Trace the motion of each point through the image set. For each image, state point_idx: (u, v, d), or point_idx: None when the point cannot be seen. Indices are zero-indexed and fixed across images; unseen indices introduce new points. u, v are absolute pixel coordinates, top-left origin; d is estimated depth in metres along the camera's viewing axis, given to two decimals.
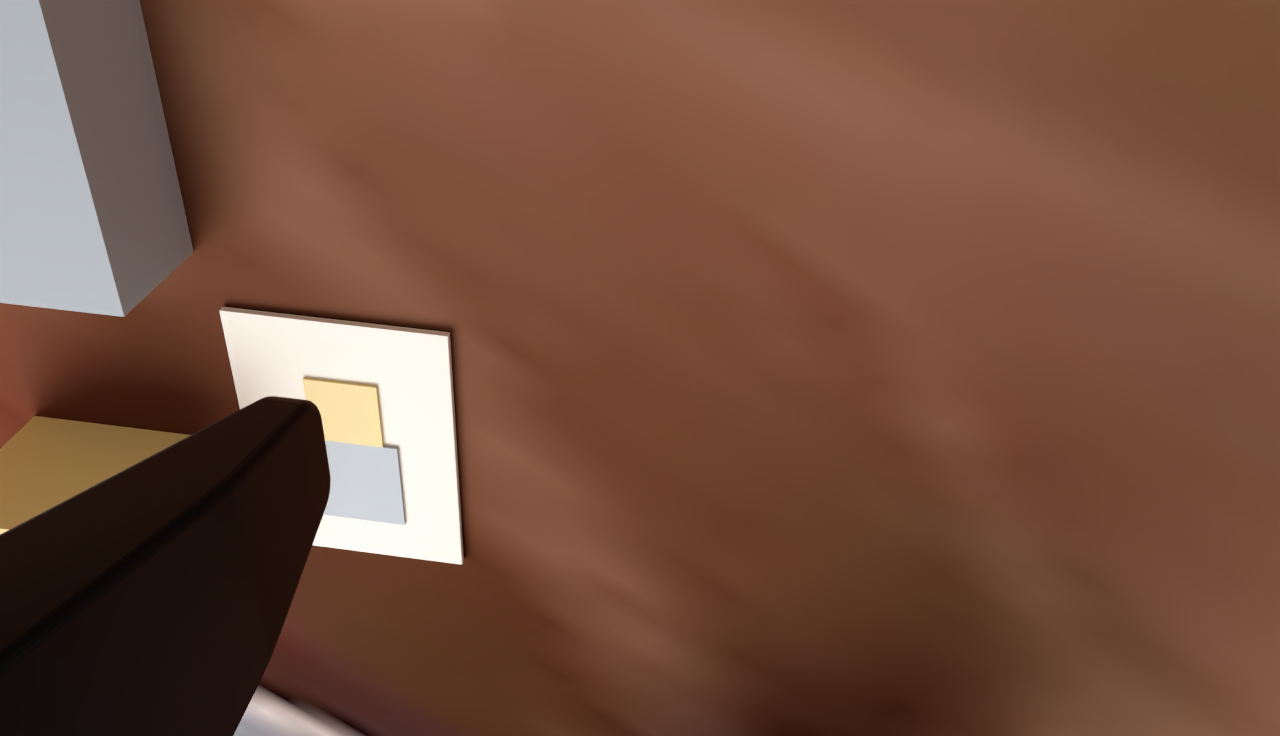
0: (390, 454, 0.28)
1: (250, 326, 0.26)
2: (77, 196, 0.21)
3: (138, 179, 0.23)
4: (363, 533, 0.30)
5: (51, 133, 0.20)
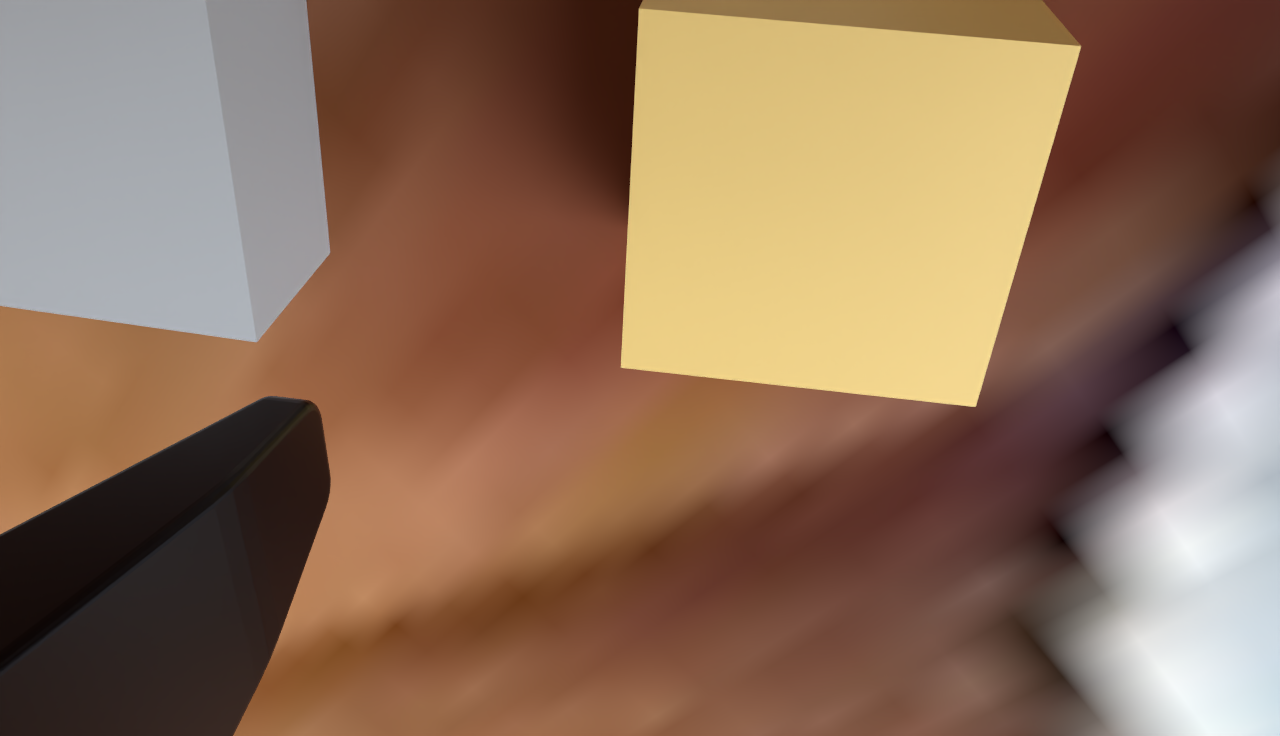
0: None
1: None
2: None
3: None
4: None
5: None
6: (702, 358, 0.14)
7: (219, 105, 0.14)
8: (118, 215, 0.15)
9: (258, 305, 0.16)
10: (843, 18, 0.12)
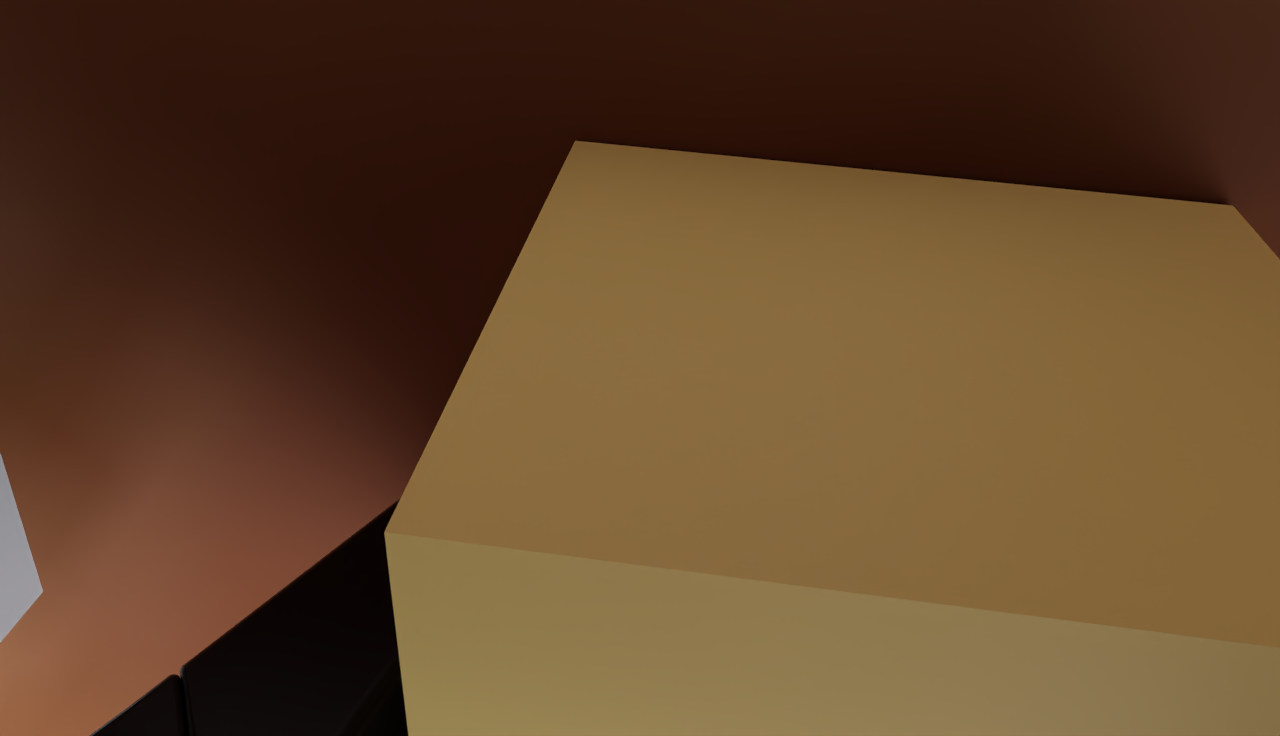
0: None
1: None
2: None
3: None
4: None
5: None
6: None
7: None
8: None
9: None
10: (947, 547, 0.04)
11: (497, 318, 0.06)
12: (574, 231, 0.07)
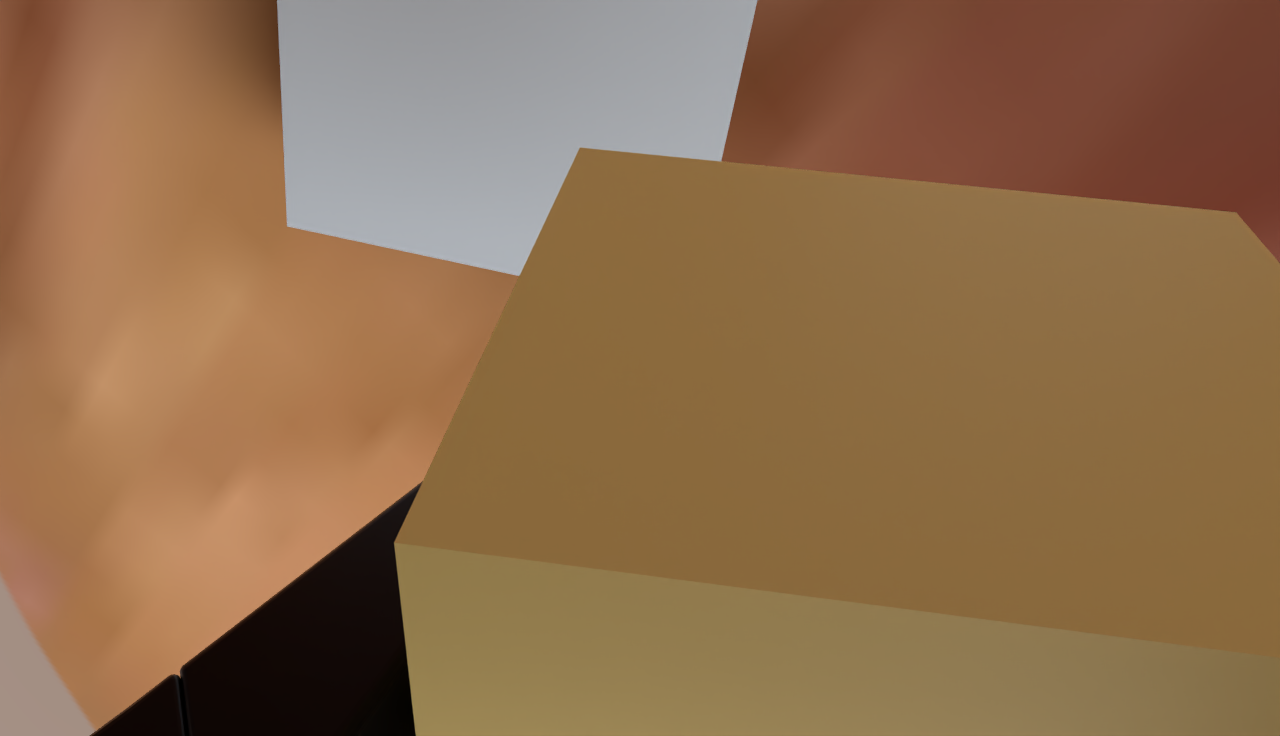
0: None
1: None
2: None
3: None
4: None
5: None
6: None
7: (737, 85, 0.15)
8: None
9: None
10: (954, 558, 0.04)
11: (504, 327, 0.06)
12: (580, 239, 0.07)
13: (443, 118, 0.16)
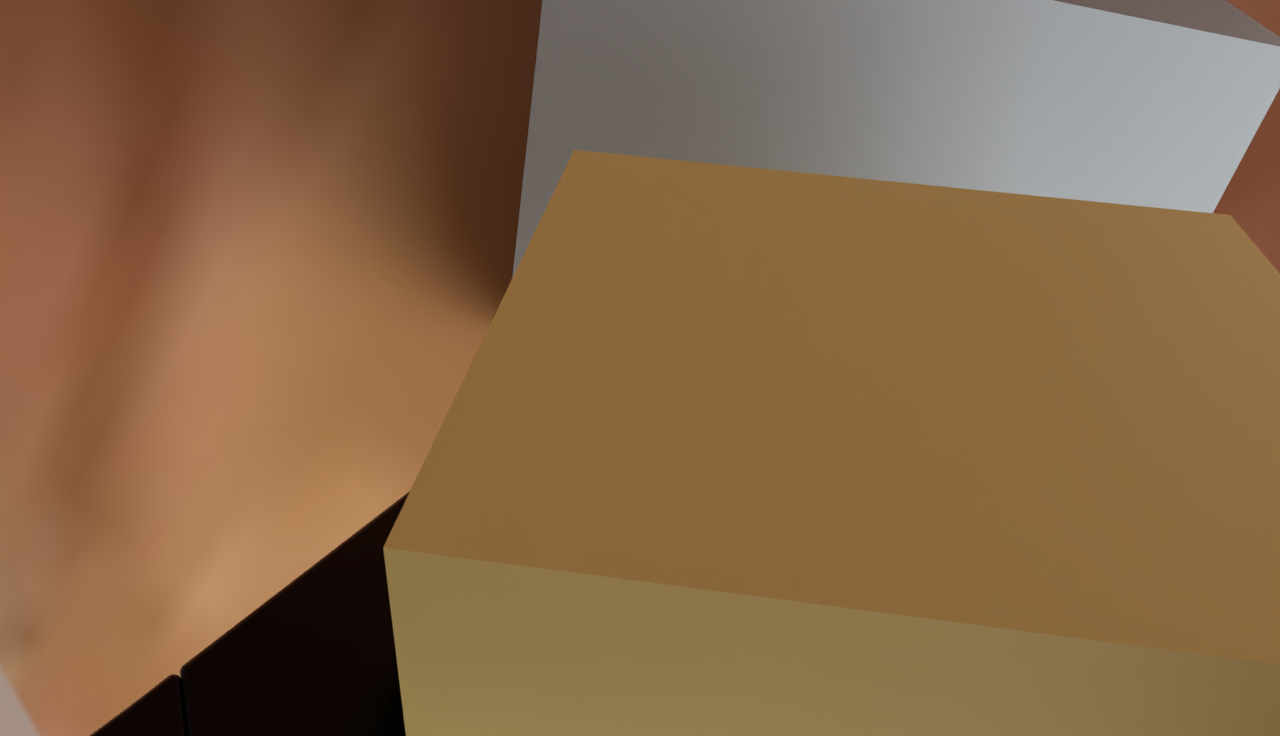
0: None
1: None
2: (975, 22, 0.09)
3: None
4: None
5: (830, 13, 0.10)
6: None
7: None
8: None
9: None
10: (944, 562, 0.04)
11: (496, 330, 0.06)
12: (573, 241, 0.07)
13: None
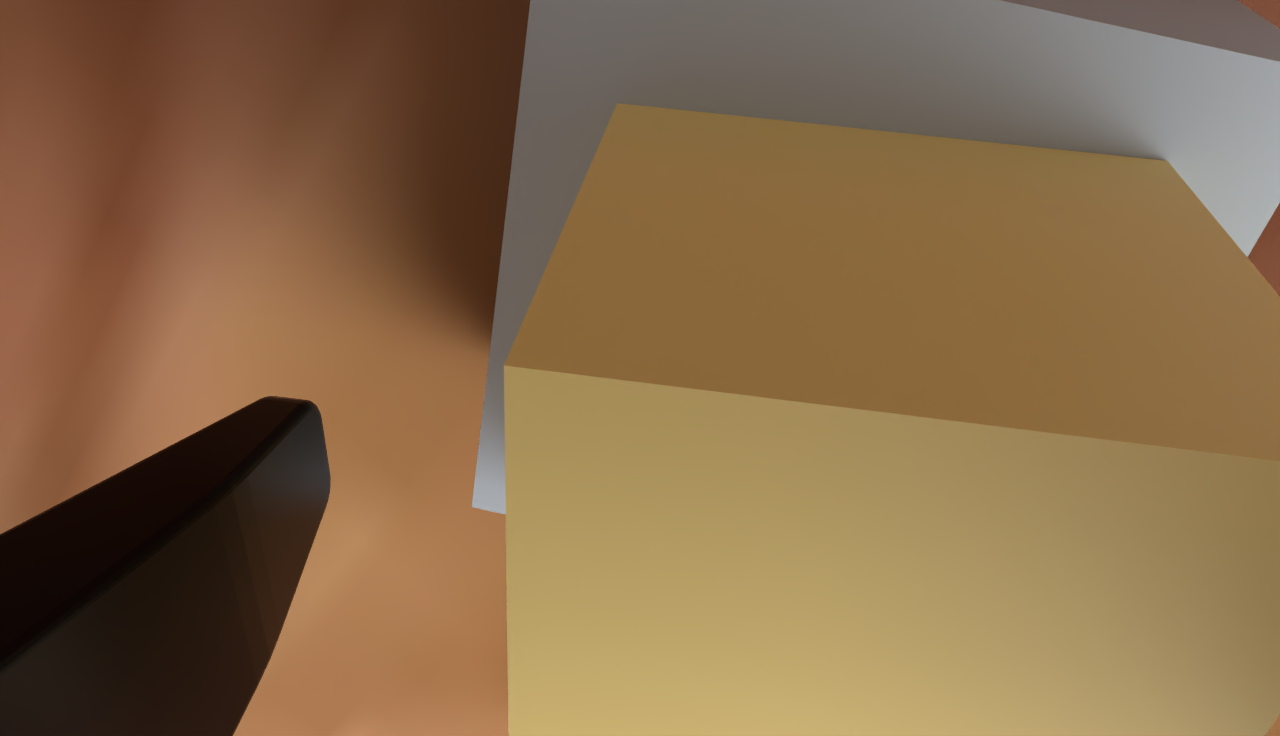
0: None
1: None
2: (1000, 41, 0.09)
3: None
4: None
5: (842, 27, 0.09)
6: None
7: None
8: None
9: None
10: (922, 383, 0.06)
11: (569, 230, 0.07)
12: (624, 170, 0.08)
13: None
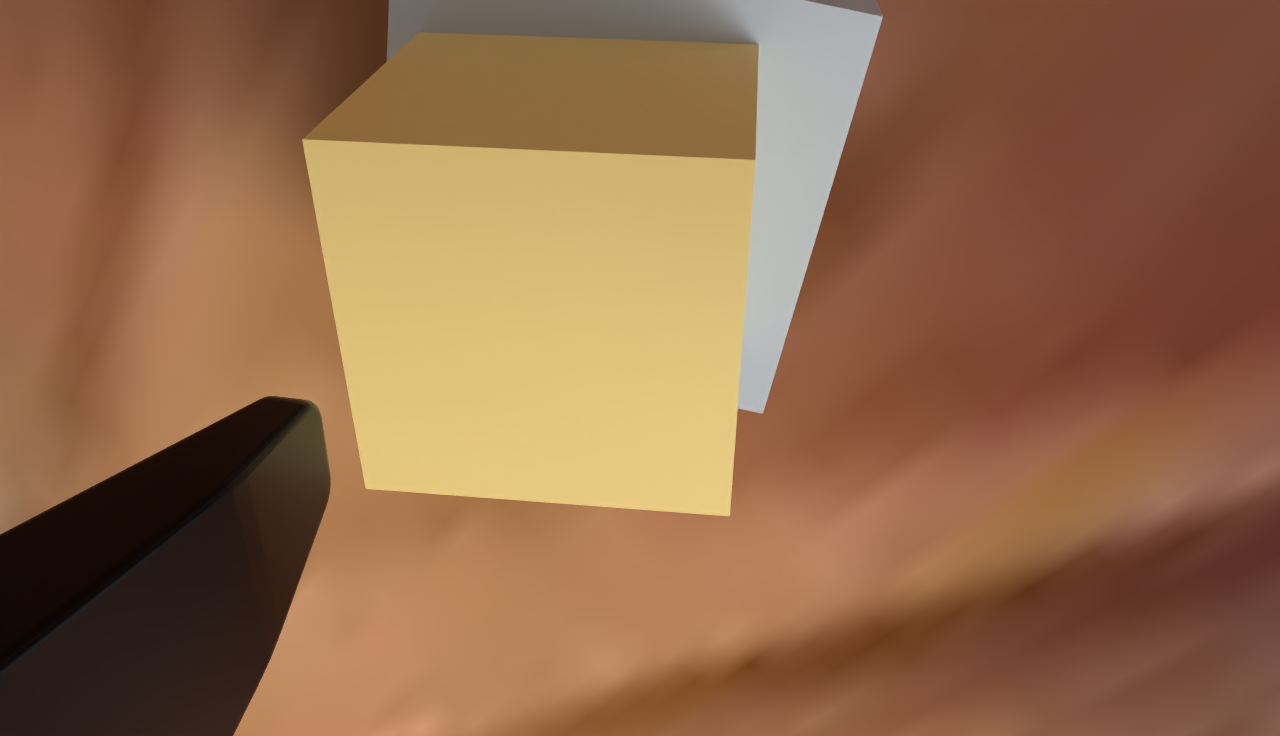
0: None
1: None
2: None
3: None
4: None
5: None
6: (445, 477, 0.14)
7: (822, 210, 0.16)
8: None
9: (770, 380, 0.18)
10: (519, 138, 0.11)
11: (360, 90, 0.13)
12: (405, 63, 0.14)
13: None
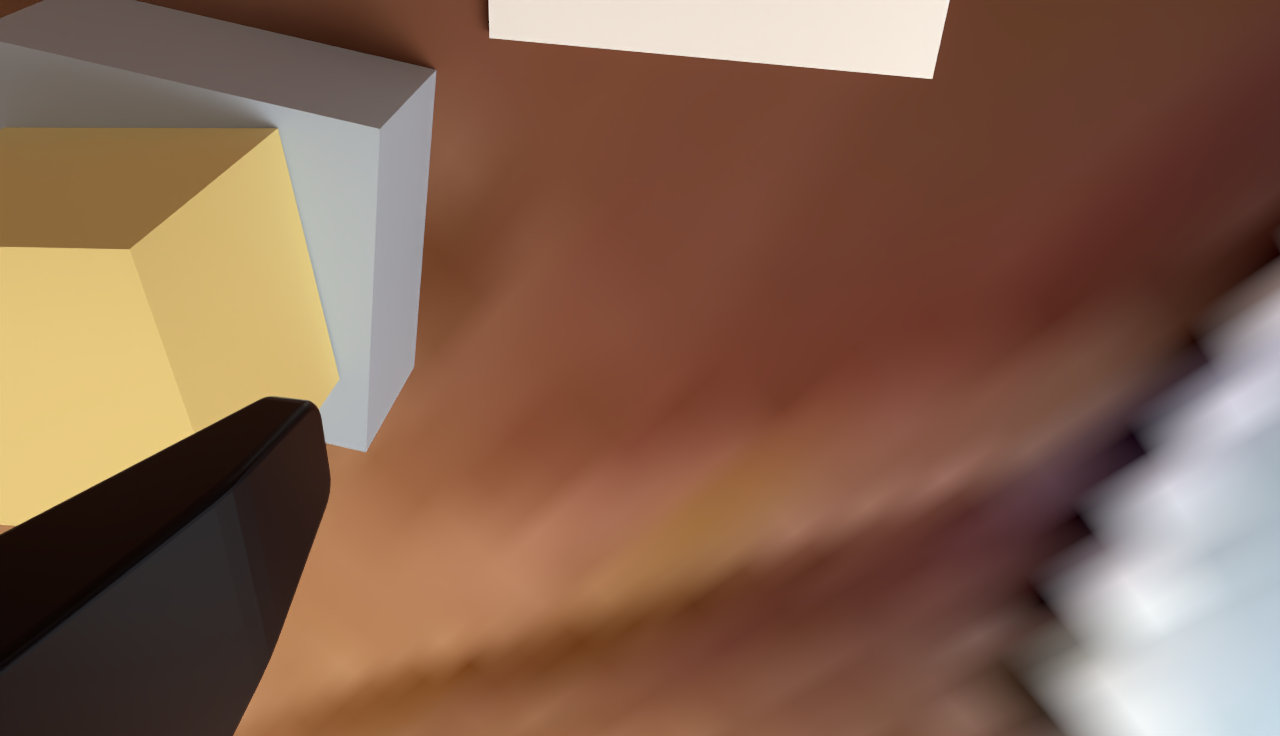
0: None
1: None
2: (208, 108, 0.17)
3: (269, 61, 0.18)
4: None
5: (129, 100, 0.17)
6: None
7: (371, 285, 0.18)
8: None
9: (370, 423, 0.20)
10: None
11: None
12: None
13: None
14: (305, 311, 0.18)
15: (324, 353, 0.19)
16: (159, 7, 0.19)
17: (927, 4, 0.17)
